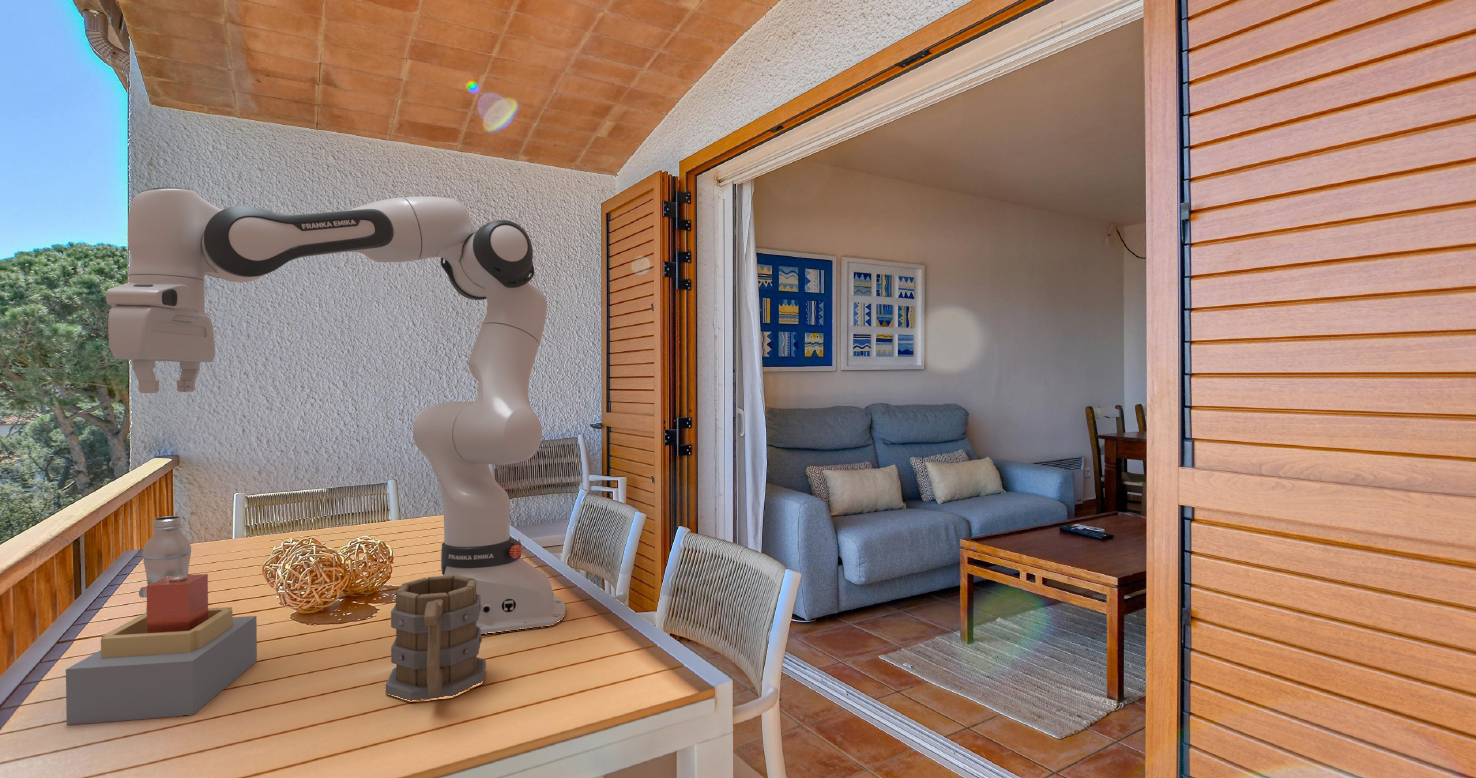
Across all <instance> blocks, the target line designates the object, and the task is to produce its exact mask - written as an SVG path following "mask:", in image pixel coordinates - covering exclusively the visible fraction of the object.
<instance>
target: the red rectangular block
mask: <svg viewBox="0 0 1476 778" xmlns="http://www.w3.org/2000/svg"><path fill="white" fill-rule="evenodd" d="M138 596H139V598H140V599H141V598H146V607H147V633H162V632H179V631H190V630H192V629H193V628H195V627H196V626H198V625H200V624H201V623H203V622H204V621H206V620H208V608H209V574H208V573H200V574H198V573H197V574H188V575H175V576H167V577H164V578H162V579H160V580H158V581H156V582H154V583H151V584H149V585H148V584H146V586H142V587H140V589H139V591H138Z"/></svg>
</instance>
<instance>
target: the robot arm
mask: <svg viewBox="0 0 1476 778" xmlns="http://www.w3.org/2000/svg"><path fill="white" fill-rule="evenodd" d="M471 220H472V219H471V217H470V214H469V211H467V209H466V207H465V206H464V205H463V203H461V202H460V201H459V200H457V199H454V198H451V197H442V196H432V195H430V196H429V195H428V196H427V195H425V196H421V195H420V196H418V195H417V196H402V197H393V198H387V199H381V200H376V201H372V202H369V203H366V204H362V205H360V206H357V207H354V208H352V209H351V208H350V209H348V210H339V211H328V212H315V213H313V212H312V213H302V214H283V213H279V212H278V213H277V212H275V211H271V210H266V209H263V208H259V207H254V206H249V205H248V206H247V205H236V206H230V207H226V208H223V209H221V208H219V207H217V206H216V205H214V204H212V203H211V202H209V201H207V200H206V199H204V198H203V197H201V196H200V195H199V194H198V192H196V191H195V190H194V189H189V188H184V187H183V188H182V187H177V186H167V187H166V186H165V187H164V186H163V187H162V186H161V187H159V186H158V187H153V188H147V189H144V190H143V191H140V192H139V193H138V194H136V195H135V196H134V197H133V198H132V200H131V203H130V207H129V211H128V223H127V225H128V227H127V247H128V250H129V252H130V258H131V264H130V267H129V269H128V273H127V275H128V276H127V278H128V280H127V282H126V283H123V284H121V285H117V286H115V287H111V288H108V289H107V290H106V291H105V301H106V304H107V305H109V306H111V308H110V310H109V311H108V318H107V319H108V320H107V321H108V323H107V324H108V325H107V328H108V329H107V330H108V345H109V350H110V352H111V354H112V356H113V357H114V359H116V360H122V361H123V360H126V361H130V360H131V361H132V362H131V363H132V370H133V373H134V375H135V377H136V379H137V380H138V392H139V393H141V394H157V393H159V391H160V387H159V386H160V380H156V375H155V371H154V369H156V362H179V369H180V370H181V372H180V377H179V380H178V379H177V380H176V390H177V392H180V393H188V392H189V393H193V392H195V390H196V380H197V378H198V375H199V373H200V369H201V368H200V366H201V365H200V363H212V362H213V361H214V359H215V357H216V344H215V341H216V340H215V332H214V326H213V322H212V319H211V318H210V317H209V316H208V315H207V313H206V312H205V276H209V277H212V278H217V279H220V280H221V279H222V280H224V281H227V282H232V283H248V282H249V283H250V282H252V281H255V280H258V279H260V278H262V277H263V276H265V275H267V274H271V273H272V272H275V271H276V270H277V269H279V268H281V267H283V266H284V265H285V264H287V263H289V262H291V261H293V260H296V259H300V258H306V257H314V256H322V255H331V254H338V253H339V254H340V253H359V254H362V255H364V256H365V257H367V258H368V259H370V260H371V261H373V262H377V263H405V262H413V261H420V260H425V259H433V258H440V266H441V268H442V269H443V270H444V272H445V273H446V275H447V277H448V279H449V282H450V284H451V286H452V287H453V289H454V290H455V291H456V292H457V293H458V294H459V295H461V296H462V297H464V298H466V299H467V300H468V299H469V300H472V301H473V300H474V301H484V300H486V303H487V304H486V305H487V307H486V314H485V315H484V319H483V321H482V324H481V326H480V329H479V332H478V334H477V337H476V339H475V343H474V345H473V348H472V351H471V353H470V356H469V359H468V362H467V363H468V368H469V371H470V373H471V375H472V376H473V378H474V379H475V380H477V381H478V382H477V383H478V384H477V385H478V388H477V395H476V397H475V399H474V401H454V400H453V401H445V402H441V403H437V404H433V405H430V406H427V407H425V408H424V409H422V410H421V411H420V412H419V414H418V415H417V416H416V418H415V421H414V424H413V428H412V436H413V437H412V438H413V442H414V444H415V447H416V448H417V450H418V451H420V452H421V454H423V456H425V458H426V459H427V460H428V462H429V463H430V465H431V468H432V469H433V472H434V473H435V477H436V479H437V482H438V487H439V489H440V493H441V499H442V505H443V506H442V507H443V510H442V511H443V529H444V530H443V536H444V537H443V539H444V541H443V542H442V543H441V549H440V568H441V574H442V576H450V575H455V576H456V575H458V576H463V577H468V578H473V579H475V580H476V594H479V595H480V596H481V606H482V609H481V610H480V614H479V619H478V620H477V621H476V627H479V628H481V634H485V633H488V632H498V631H506V630H516V629H520V628H521V629H522V628H530V627H539V626H543V625H549V624H554V623H556V622H557V621H559V620H561V619H562V618H563V616H564V615H565V612H566V613H567V610H566V603H565V602H564V601H563V600H562V599H559V598H556V597H555V596H554V591H553V586H552V583H551V580H550V579H549V577H548V575H546V574H545V572H542V570H539V569H538V568H536V567H535V566H533V565H532V564H530V563H529V562H528V561H526V560H525V559H523V558H522V553H523V548H522V543H521V540H520V539H518V540H517V539H515V538H513V537H511V536H510V498H509V495H508V492H507V491H506V490H505V488H503V486H501V485H500V484H499V483H498V482H497V480H496V479H495V478H494V475H493V473H492V470H491V468H490V465H497V466H506V465H511V464H517V463H521V462H526V461H528V460H530V459H531V458H532V457H533V456H535V455H536V453H537V451H538V449H540V446H541V443H542V439H543V437H542V436H543V429H542V424H541V420H540V419H539V416H538V415H537V413H535V411H534V410H533V408H532V406H531V404H530V403H531V402H530V399H529V397H530V396H529V383H530V377H531V374H532V370H533V366H534V363H535V360H536V357H537V353H538V350H539V347H540V344H541V342H542V339H543V334H544V333H543V332H544V329H545V324H546V319H547V308H548V302H547V299H546V296H545V295H544V293H543V292H542V291H541V290H540V289H539V288H537V287H536V286H534V285H532V284H531V283H530V282H531V280H532V279H533V278H534V276H535V267H534V260H533V258H534V250H533V243H532V241H531V239H530V237H529V234H528V233H527V231H526V230H525V229H524V228H523V227H522V226H520V225H519V224H518V223H515V222H514V221H511V220H508V219H507V220H506V219H498V220H493V221H489V222H487V223H485V224H483V225H482V226H481V227H479V228H477V227H476V226H475V225H474V223H472V221H471ZM565 616H566V615H565ZM485 635H486V634H485Z"/></svg>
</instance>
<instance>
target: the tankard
mask: <svg viewBox="0 0 1476 778" xmlns="http://www.w3.org/2000/svg"><path fill="white" fill-rule="evenodd" d="M481 609H482V606H481V596H480V595H479V594H476V580H475V579H473V578H468V577H463V576H458V575H456V576H455V575H450V576H443V575H437V576H428V577H422V578H419V579H416V580H412V581H408V582H404V583H402V584H401V585H400V586H399V588H398V590H397V591H396V592H395V605H394V606H393V608H392V609H391V611H390V627H391V628H392V629H394V630H395V640H394V641H393V642H392V646H391V648H390V653H391V654H390V656H391V658H390V659H391V661H390V662H391V664H394V665H395V667H394V668H393V669H391V673H390V674H389V676H388V679H387V681H386V683H385V694H386V693H387V694H390V695H394V696H398V697H400V698H403V699H407V700H410V701H412V700H421V699H429V698H439V697H444V696H453V695H456V694H458V693H459V692H462V691H464V690H465V689H468V688H470V687H472V686H473V685H476V684H478V683H481V682H482V681H484V682H485V677H484V675H485V676H486V671H485V669H486V668H487V665H486V664H487V660H485V659H484V658H481V657H478V655H479V653H480V650H481V649H480V647H481V643H482V642H483V638H482V635H481V628H479V627H476V621H477V620H478V619H479V614H480V610H481ZM486 670H487V669H486ZM387 694H386V695H387Z"/></svg>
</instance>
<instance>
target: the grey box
mask: <svg viewBox="0 0 1476 778" xmlns="http://www.w3.org/2000/svg"><path fill="white" fill-rule="evenodd" d="M257 625H258V623H257V615H250V616H249V615H247V616H233V607H232V606H228V607H227V606H226V607H225V606H223V607H208V620H206V621H204V622H203V623H201V624H200V625H198V626H196V627H195V628H193V629H192V630H190V631H179V632H162V633H147V614H145V613H143V614H141V615H139V616H137V617H135V618H133V619H131V620H130V621H127V622H125V623H123V624H122V625H120V626H118V627H116V628H114V629H113V630H110V631H108V632H107V633H104V634H103V635H101V639H100V650H98V651H97V652H95V653H93V654H91V655H89V656H87V657H85V658H83V659H82V660H80V661H79V662H76V663H74V664H72V665H71V666H69V667H67V668H66V669H65V696H66V698H65V702H66V704H65V705H66V707H65V709H66V710H65V711H66V726H71V725H72V726H74V725H75V726H76V725H85V724H98V723H99V724H100V723H111V722H113V723H114V722H123V721H136V720H151V719H160V718H161V719H162V718H174V717H176V718H177V717H184V716H183V715H189V716H194V715H196V713H197V712H199V711H200V710H201V709H202V708H203V707H205V706H206V705H207V704H208V703H209V702H210V700H211V701H212V700H213V699H214V698H216V697H217V695H219V694H220V693H221V692H223V691H224V690H225V689H226V688H228V687H229V686H230V685H231V684H232V683H233V682H235V681H236V680H237V679H238V678H239V677H240V676H241V675H243V674H245V672H246V671H247V670H249V669H250V668H251V667H252V666H254V665H255V664H256V663H257V662H258V641H257V640H258V639H257V638H258V636H257V635H258V634H257V633H258V632H257V631H258V630H257V629H258V628H257ZM205 704H206V705H205ZM199 709H200V710H199ZM198 710H199V711H198ZM193 714H194V715H193ZM150 718H151V719H150Z"/></svg>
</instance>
